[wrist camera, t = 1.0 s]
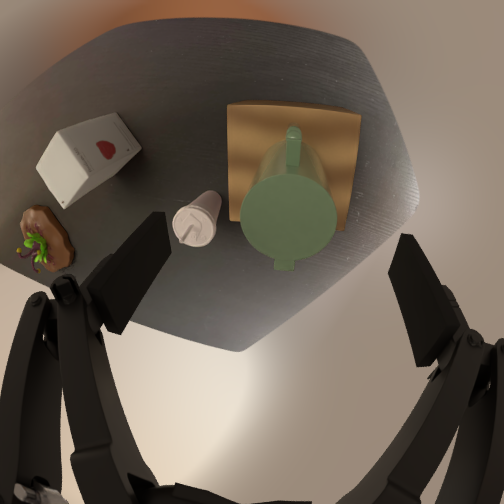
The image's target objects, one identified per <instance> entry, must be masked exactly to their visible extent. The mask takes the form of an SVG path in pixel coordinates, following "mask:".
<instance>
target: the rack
mask: <svg viewBox="0 0 504 504" xmlns="http://www.w3.org/2000/svg"><path fill="white" fill-rule="evenodd" d="M361 117H362V116H361V115H360V114H357V113H355V112H353V111H350V110H348V109H345V108H343V107H338V106H330V105H322V104H313V103H303V102H290V101H273V100H244V101H240V102H236V103H232V104H229V105H227V137H228V181H229V213H230V221H240V209H241V205H242V202H243V199H244V197H245V195H246V193H247V190H248V188H249V186H250V184H251V181H252V179H253V177H254V175H255V173H256V170H257V168H258V166H259V164H260V161H261V159H262V157H263V155H264V153H265V152H266V151H267V150H268V149H269V148H270V147H271V146H272V145H274V144H275V143H277V142H280V141H284V140H286V132H287V127H288V125H289V124H290V123H292V122H296V123H298V124H299V125H300V127H301V133H302V142H304V143H306V144H308V145H309V146H311V147H312V148H313V149H314V150H315V151H316V152H317V154H318V155H319V157H320V159H321V162H322V165H323V168H324V171H325V174H326V177H327V180H328V183H329V186H330V190H331V193H332V196H333V200H334V203H335V206H336V211H337V226H336V230H340V231H344V229H345V224H346V219H347V214H348V208H349V203H350V197H351V191H352V185H353V179H354V173H355V166H356V159H357V152H358V144H359V135H360V126H361Z"/></svg>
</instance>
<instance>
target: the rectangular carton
mask: <svg viewBox="0 0 504 504" xmlns="http://www.w3.org/2000/svg"><path fill="white" fill-rule="evenodd" d="M141 148H142V147H141V146H140V145H139V143H138V142H137V140H136V139H135V138H134V136H133V135H132V133H131V132H130V131H129V129H128V128H127V127H126V125H125V124H124V122H123V121H122V120H121V118H120V117H119V115H118V114H117V113H116V112H115V113H112V114H108V115H105V116H101V117H98V118H94V119H91V120H88V121H85V122H82V123H79V124H76V125H73V126H70V127H67V128H64V129H62V130H59V131H57V132H56V134H55V135H54V137H53V139H52V140H51V142H50V144H49V145H48V147H47V149H46V151H45V152H44V154H43V156H42V157H41V159H40V161H39V163H38V165H37V166H36V169H37V171H38V172H39V174H40V175H41V177H42V178H43V180H44V181H45V183H46V185H47V187H48V188H49V190H50V191H51V192H52V193H53V195H54V196H55V198H56V199H57V200H58V202H59V203H60V205H61V206H62V207H63V209H66V208H67V207H68V206H70V205H71V204H72V203H74V202H75V201H76V200H78V199H79V198H81V197H82V196H83V195H85V194H86V193H88V192H89V191H91V190H92V189H94V188H95V187H97V186H98V185H100V184H101V183H103V182H104V181H106V180H107V179H109V178H110V177H112V176H114V175H115V174H116V173H117V172H118V171H119V170H120V169H121V168H122V167H123V166H124V165H125V164H126V163H127V162H128V161H129V160H130V159H131V158H132V157H133V156H135V155H136V154H137V153H138V152H139V151H140V150H141Z"/></svg>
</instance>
